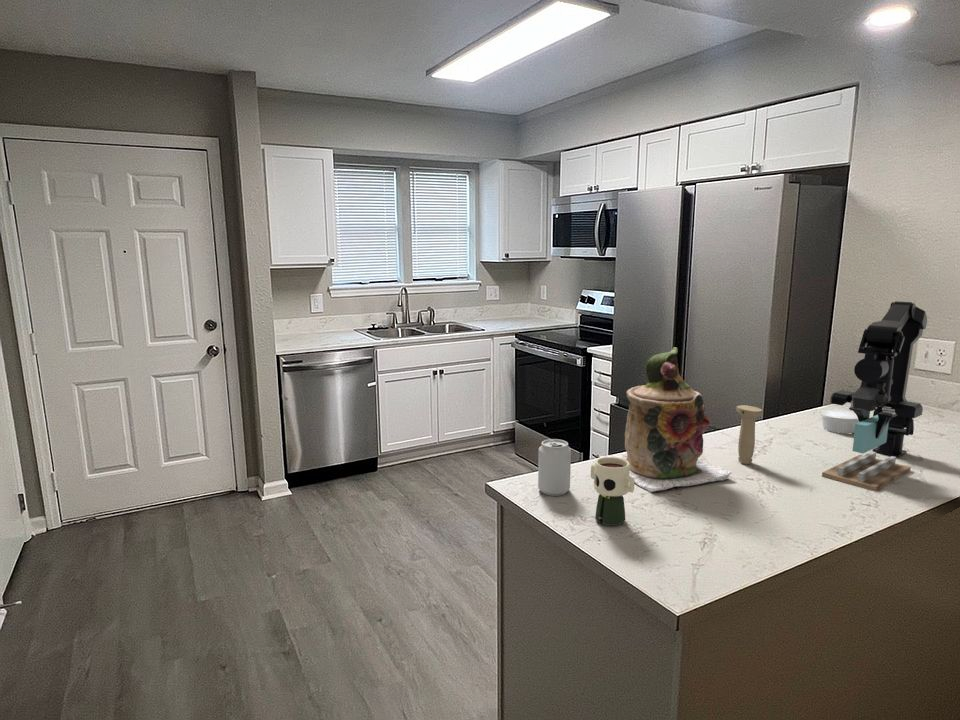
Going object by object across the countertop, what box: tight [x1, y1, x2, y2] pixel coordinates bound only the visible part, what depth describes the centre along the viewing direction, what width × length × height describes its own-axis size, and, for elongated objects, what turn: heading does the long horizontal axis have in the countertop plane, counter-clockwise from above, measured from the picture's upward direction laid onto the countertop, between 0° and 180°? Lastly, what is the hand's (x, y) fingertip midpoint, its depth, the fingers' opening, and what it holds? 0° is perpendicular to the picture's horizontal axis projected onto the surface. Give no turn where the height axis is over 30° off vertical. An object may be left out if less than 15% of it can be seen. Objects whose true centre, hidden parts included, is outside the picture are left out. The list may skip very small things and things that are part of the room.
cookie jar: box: [599, 346, 733, 493], centre depth 154 cm, size 25×25×32 cm
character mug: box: [590, 457, 635, 526], centre depth 127 cm, size 11×7×13 cm, turn 40°
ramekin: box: [820, 409, 859, 434], centre depth 191 cm, size 11×11×5 cm
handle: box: [735, 404, 763, 465], centre depth 161 cm, size 5×6×15 cm
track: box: [821, 451, 912, 492], centre depth 154 cm, size 22×12×3 cm, turn 127°
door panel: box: [852, 415, 889, 454], centre depth 153 cm, size 14×2×7 cm, turn 127°
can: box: [537, 438, 572, 497], centre depth 143 cm, size 8×8×12 cm
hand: (871, 436), depth 153 cm, fingers closed on door panel, 2 cm apart
